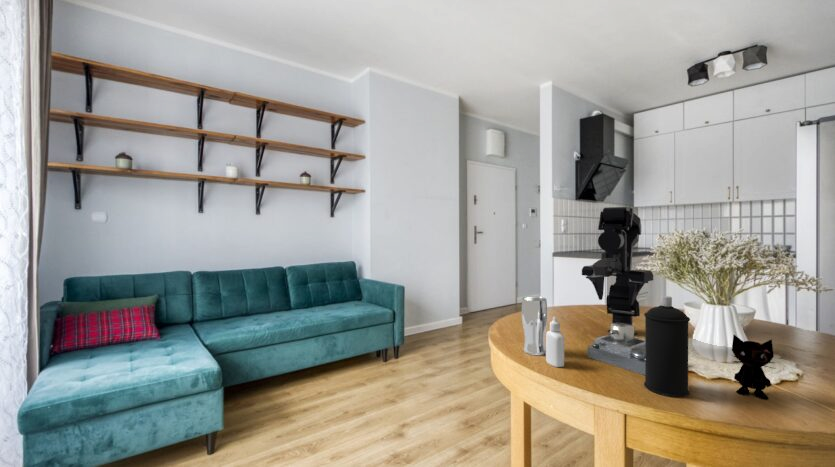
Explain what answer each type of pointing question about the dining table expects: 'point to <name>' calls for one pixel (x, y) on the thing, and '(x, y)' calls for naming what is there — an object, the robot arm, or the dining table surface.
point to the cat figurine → (752, 365)
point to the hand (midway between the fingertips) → (615, 302)
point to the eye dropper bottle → (555, 345)
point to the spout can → (622, 334)
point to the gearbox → (619, 353)
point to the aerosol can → (666, 350)
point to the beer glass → (534, 324)
